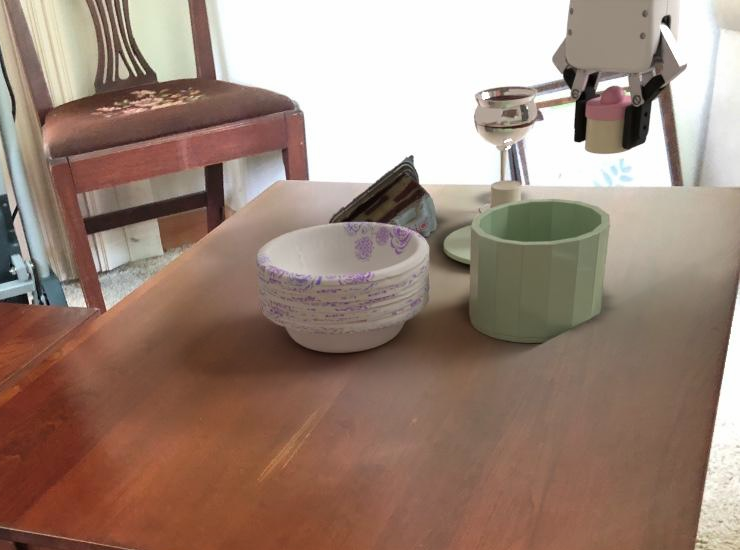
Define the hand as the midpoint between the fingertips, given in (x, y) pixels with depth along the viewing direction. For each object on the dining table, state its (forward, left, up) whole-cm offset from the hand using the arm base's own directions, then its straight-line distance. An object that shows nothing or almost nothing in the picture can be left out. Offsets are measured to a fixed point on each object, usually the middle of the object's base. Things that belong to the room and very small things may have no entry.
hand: (609, 140), depth 99 cm
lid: (+2, +13, -7) cm, 15 cm away
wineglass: (+11, +3, -8) cm, 14 cm away
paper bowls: (0, +37, -8) cm, 38 cm away
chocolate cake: (+15, +17, -8) cm, 24 cm away
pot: (-11, +24, -8) cm, 28 cm away
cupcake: (0, 0, -1) cm, 1 cm away
